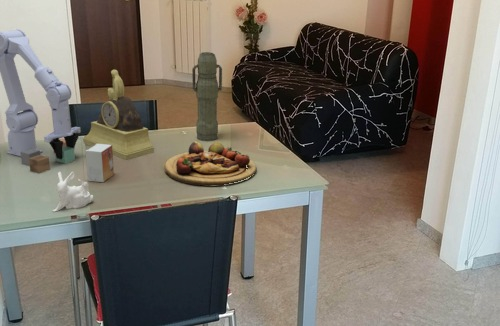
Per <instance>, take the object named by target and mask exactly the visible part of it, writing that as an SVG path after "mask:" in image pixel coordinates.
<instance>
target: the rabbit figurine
mask: <svg viewBox="0 0 500 326" xmlns="http://www.w3.org/2000/svg"><path fill="white" fill-rule="evenodd" d="M57 177H58V180H59V182H58V183H57V185H56V186H57V187H56V191H57V195H58V198H59V201H58V204H57V205H56V208H54V209H52V210H51V212H53V213H55V212H59V211H60V210H61V209H63V208H64V207H65V209H66V210H70V209H78V208H83V207H86V206H87V205H88V204H90V203H91V202H93V201H94V195H93V194H90V191H88V190H87V188H88V187H89V184H88V182H87V181H83V180H82V179H80V178H78V179H77V181H78V182H80V183H81V185H78V186H76V185H72V186H71V185H68V183H69V182H70V181H72V180H73V179H74V178H75V172H74V171H71V172H70V174H69V175H67V177H65V179H63V175H62V171H58V172H57Z"/></svg>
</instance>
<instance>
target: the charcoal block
mask: <svg viewBox="0 0 500 326" xmlns="http://www.w3.org/2000/svg"><path fill="white" fill-rule="evenodd" d="M39 150H40V149H38V150H36V149H32V148H31V149H27V150H24V151H21V152H20V154H21V156H20V160H21V164H22V165H25V166H29V167H30V164H29V158H32V157H35V156H38V155H41V152H40V151H39Z"/></svg>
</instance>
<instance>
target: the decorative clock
mask: <svg viewBox="0 0 500 326" xmlns="http://www.w3.org/2000/svg"><path fill="white" fill-rule="evenodd" d="M110 73H111V78H112V87H108V89H107V95H108V96H107V97H108V99H109V100H108V101H105V102H103V103H102V106H101V110H100V113H99V114H98V117H97V120H96V121H91V122H90V124H91V126H90V130H89V132H88V134H87V135H85V136H84V137H83V138H82V142H84V143H83V144H85V143H86V144H85V145H87V144H88V146H90V147H93V146H95V145H96V144H107V145H112V150H113V156H115V157H117V158H121V159H123V160H125V161H129V160H131V159H132V160H133V159H135V158H138V157H142V156H145V155H146V156H147V155H149V154H151V153H152V154H153V153H155V147H154V146H153V144H152V141H151V139H150V136H149V128H147V127H144V125H143V120H142V118H141V115H140V114H139V111H138V109H137V107H136V106H135V104H134V103H133V101H132V100H131V98H130V97H128V96H125V85H124V82H123V79H122V78H121V76H120V75H119V71H118V70H117V69H112V70H111V71H110Z"/></svg>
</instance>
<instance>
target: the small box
mask: <svg viewBox="0 0 500 326" xmlns="http://www.w3.org/2000/svg"><path fill="white" fill-rule="evenodd" d="M85 158H86V161H85V162H86V169H87V171H86V172H87V180H88V182H96V183H97V182H98V183H99V182H100V183H104V182H106V181H107V180H108V179H110V178H111V177H113V176H114V174H115V169H114V155H113V150H112V145H107V144H96V145H95V146H93V147H92V146H90V148H88V149H86V150H85Z"/></svg>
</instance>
